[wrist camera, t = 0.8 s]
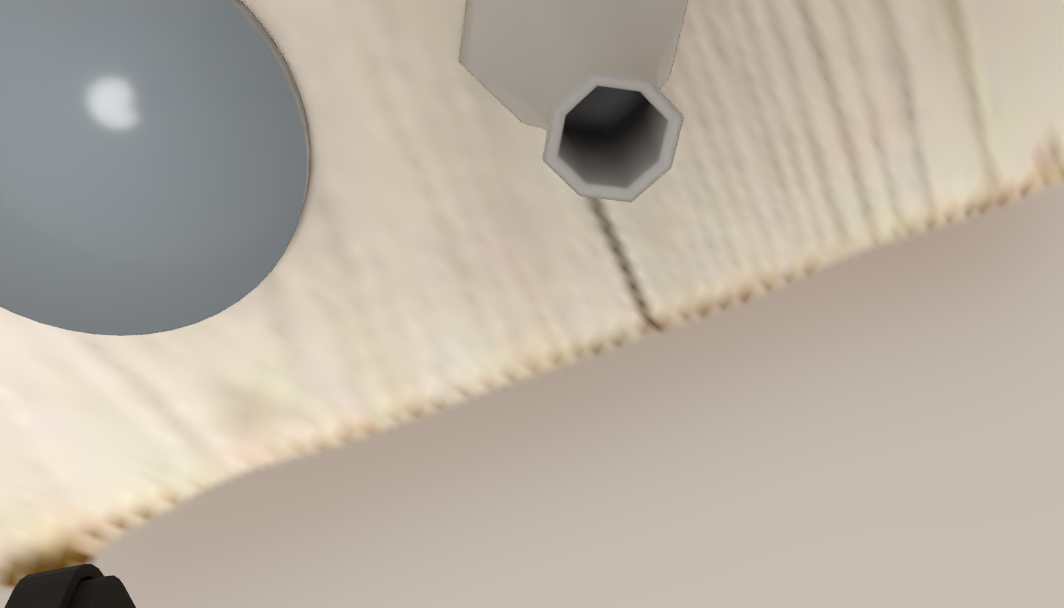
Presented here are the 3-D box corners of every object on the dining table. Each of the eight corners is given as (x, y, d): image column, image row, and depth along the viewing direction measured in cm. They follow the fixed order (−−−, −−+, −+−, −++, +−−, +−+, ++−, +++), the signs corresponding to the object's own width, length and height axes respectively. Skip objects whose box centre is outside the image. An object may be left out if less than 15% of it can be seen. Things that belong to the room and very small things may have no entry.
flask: (524, -145, 29) (549, -81, 21) (729, -30, 31) (830, 72, 23) (421, 71, 32) (406, 205, 24) (614, 163, 34) (663, 316, 26)
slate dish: (172, -162, 28) (163, -157, 27) (378, 245, 35) (376, 258, 34) (-242, 16, 30) (-262, 25, 29) (33, 368, 37) (23, 384, 36)
